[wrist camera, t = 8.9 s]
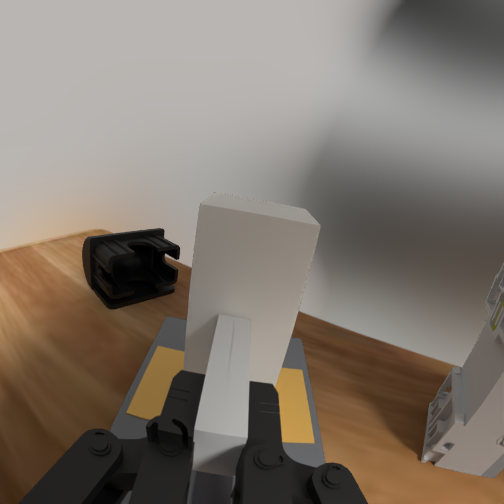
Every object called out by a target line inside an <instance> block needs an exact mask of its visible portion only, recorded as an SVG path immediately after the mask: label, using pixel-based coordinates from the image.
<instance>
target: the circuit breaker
mask: <svg viewBox="0 0 504 504" xmlns="http://www.w3.org/2000/svg"><path fill="white" fill-rule="evenodd" d="M496 291H498V292H500V294H499V296H498V299H497V301H495V300H493V298H494V296H495V293H496ZM485 306H486V308H487V310H488V312H489V315H488V317H487V319H486V324H485V326H484V328H483V330H482V332H481V334H480V336H479V338H478V340H477V342H476V344H475V346H474V348H473V349H472V352H471V353H470V355H469V357H468V359H467V360H466V362H465V364H464V366H463V367H462V369H461V370H460V367H453V368H452V369H451V371H450V373H449V374H448V376H447V378H446V379H445V381H444V382H443V384H442V386H441V387H440V389H439V390H438V392H437V396H436V397H435V399H434V400H433V401H432V402H430V404H429V409H428V418H427V426H426V434H425V440H424V447H423V452H422V458H421V462H423V463H426V462H427V460H429V461H432V462H435V463H434V466H438V467H441V468H445V469H449V470H454V471H458V472H462V473H467V474H472V475H477V476H482V477H488V478H494V477H496V476H497V475H498V474H499V473H500V472H501V471H502V470H503V469H504V263H503V265H502V268H501V270H500V272H499V274H497V275H496V277H495V279H494V282H493V284H492V287H491V289H490V292H489V294H488V297H487V299H486V302H485ZM447 386H449V387H451V391H450V392H449V393H448V392H445V390H446V388H447Z"/></svg>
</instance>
